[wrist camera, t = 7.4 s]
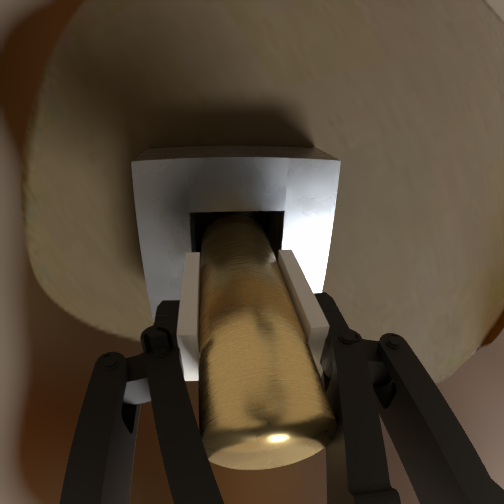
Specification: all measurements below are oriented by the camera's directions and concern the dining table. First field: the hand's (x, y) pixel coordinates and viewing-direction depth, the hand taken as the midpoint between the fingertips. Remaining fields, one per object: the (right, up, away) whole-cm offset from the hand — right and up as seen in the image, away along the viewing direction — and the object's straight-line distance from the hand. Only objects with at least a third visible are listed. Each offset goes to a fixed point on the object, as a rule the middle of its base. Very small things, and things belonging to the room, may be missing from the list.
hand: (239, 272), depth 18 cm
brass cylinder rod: (0, +2, +3) cm, 3 cm away
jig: (-1, +3, +6) cm, 7 cm away
